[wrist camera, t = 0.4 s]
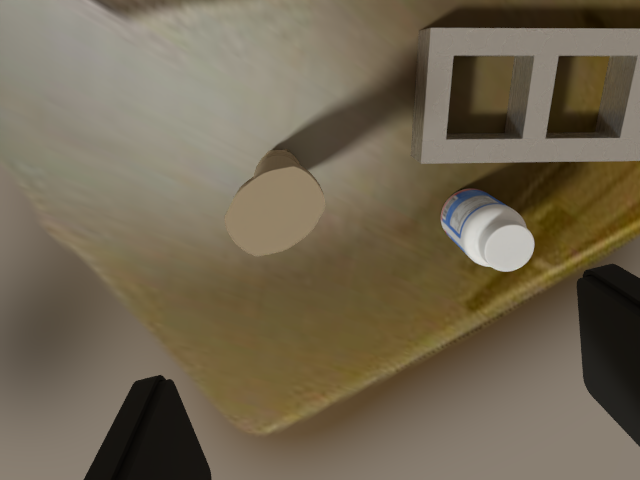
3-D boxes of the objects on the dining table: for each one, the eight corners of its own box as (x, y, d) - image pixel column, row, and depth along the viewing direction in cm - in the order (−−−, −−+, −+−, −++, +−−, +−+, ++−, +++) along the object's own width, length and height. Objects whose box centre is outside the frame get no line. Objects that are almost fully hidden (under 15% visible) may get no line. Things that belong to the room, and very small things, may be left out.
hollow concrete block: (410, 155, 44) (420, 163, 41) (419, 31, 40) (430, 27, 37) (697, 152, 46) (730, 159, 42) (730, 32, 42) (769, 29, 38)
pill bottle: (499, 228, 47) (549, 268, 38) (447, 247, 47) (485, 291, 38) (486, 178, 45) (536, 206, 36) (432, 197, 46) (468, 231, 36)
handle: (323, 165, 44) (339, 212, 30) (268, 205, 45) (258, 269, 31) (291, 121, 42) (292, 150, 28) (235, 164, 43) (209, 212, 29)
